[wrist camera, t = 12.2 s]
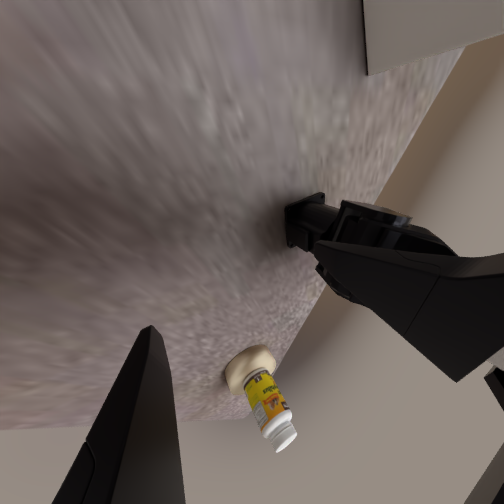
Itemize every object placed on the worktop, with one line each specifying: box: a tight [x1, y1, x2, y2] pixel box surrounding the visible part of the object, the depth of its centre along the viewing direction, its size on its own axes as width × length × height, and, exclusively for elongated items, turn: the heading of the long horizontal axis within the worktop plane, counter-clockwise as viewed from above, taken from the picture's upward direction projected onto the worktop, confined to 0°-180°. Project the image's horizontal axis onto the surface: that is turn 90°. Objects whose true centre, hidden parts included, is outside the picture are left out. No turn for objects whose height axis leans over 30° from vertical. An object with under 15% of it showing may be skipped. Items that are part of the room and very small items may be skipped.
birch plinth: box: [225, 345, 276, 395], centre depth 36 cm, size 10×10×3 cm
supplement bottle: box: [243, 368, 297, 452], centre depth 31 cm, size 6×6×10 cm
